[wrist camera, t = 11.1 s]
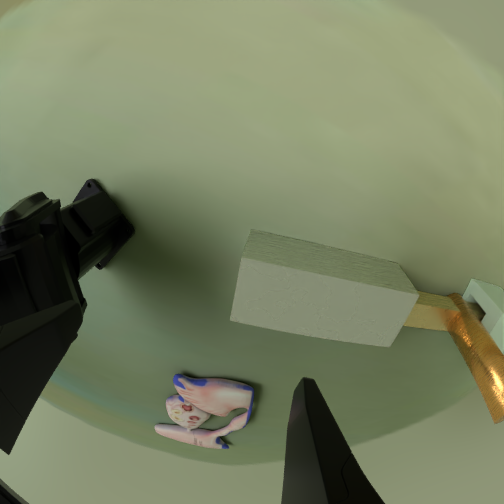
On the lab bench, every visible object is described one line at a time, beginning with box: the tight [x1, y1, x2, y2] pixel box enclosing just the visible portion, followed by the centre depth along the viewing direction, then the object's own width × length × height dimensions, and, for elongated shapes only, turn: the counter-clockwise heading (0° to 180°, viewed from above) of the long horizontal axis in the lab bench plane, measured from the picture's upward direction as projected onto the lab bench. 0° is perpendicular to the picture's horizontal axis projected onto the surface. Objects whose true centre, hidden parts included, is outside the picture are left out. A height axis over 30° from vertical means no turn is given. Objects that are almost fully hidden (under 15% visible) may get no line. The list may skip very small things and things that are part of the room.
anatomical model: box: [155, 374, 254, 449], centre depth 32 cm, size 20×3×15 cm
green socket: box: [462, 278, 504, 355], centre depth 19 cm, size 6×6×6 cm
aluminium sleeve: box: [230, 229, 419, 347], centre depth 20 cm, size 12×5×5 cm, turn 80°
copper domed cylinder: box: [403, 291, 504, 423], centre depth 15 cm, size 20×3×13 cm, turn 80°
